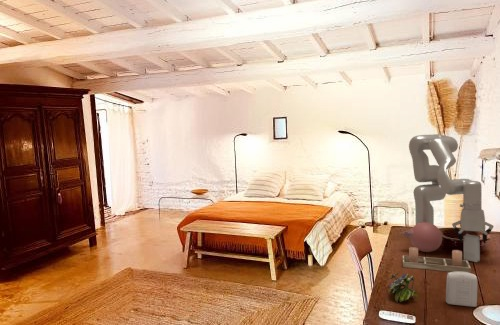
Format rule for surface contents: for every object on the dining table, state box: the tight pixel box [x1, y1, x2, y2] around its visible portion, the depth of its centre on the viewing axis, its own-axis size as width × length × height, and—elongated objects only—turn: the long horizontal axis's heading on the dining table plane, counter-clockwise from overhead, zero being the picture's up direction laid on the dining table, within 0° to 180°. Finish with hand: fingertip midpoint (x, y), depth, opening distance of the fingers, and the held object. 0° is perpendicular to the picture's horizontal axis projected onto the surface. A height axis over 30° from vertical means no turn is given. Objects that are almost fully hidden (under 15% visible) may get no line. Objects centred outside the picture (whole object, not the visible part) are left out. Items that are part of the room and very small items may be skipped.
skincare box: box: [462, 233, 481, 263], centre depth 183 cm, size 6×4×12 cm
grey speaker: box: [445, 271, 478, 308], centre depth 141 cm, size 10×4×12 cm, turn 72°
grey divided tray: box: [402, 246, 472, 274], centre depth 177 cm, size 10×28×8 cm, turn 68°
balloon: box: [400, 222, 443, 253], centre depth 198 cm, size 15×20×15 cm
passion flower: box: [388, 272, 419, 303], centre depth 148 cm, size 11×11×12 cm
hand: (472, 241), depth 182 cm, fingers open, 9 cm apart
